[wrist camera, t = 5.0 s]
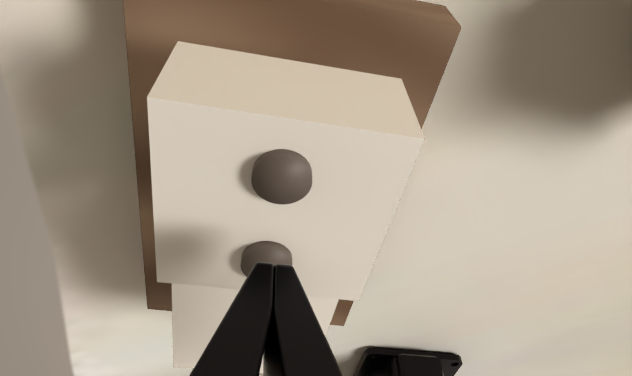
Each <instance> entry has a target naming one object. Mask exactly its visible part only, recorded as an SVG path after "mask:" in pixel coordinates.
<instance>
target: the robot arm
mask: <svg viewBox="0 0 632 376" xmlns="http://www.w3.org/2000/svg"><path fill="white" fill-rule="evenodd" d="M262 359H263V376H343V374H342V372H341V370H340V368H339V366H338V363H337V361H336V359H335V357H334V355H333V352H332V350H331V348H330V346H329V344H328V341H327V339H326V337H325V335H324V333H323V330H322V328H321V326H320V324H319V322H318V319H317V317H316V315H315V313H314V311H313V308H312V306H311V304H310V302H309V300H308V297H307V295H306V293H305V291H304V289H303V287H302V284H301V282H300V280H299V278H298V276H297V273H296V271H295V269H294V267H293V266H292V265H287V264H275V266H274V264H273V263H268V262H256V263H255V265H254V266H253V268H252V270H251V271H250V273H249V275H248V277H247V278H246V280H245V282H244V283H243V285H242V287H241V289H240V290H239V292H238V294H237V295H236V297H235V299H234V300H233V302H232V304H231V306H230V307H229V309H228V311H227V312H226V314H225V316H224V318H223V319H222V321H221V323H220V324H219V326H218V328H217V330H216V331H215V333H214V335H213V336H212V338H211V340H210V342H209V343H208V345H207V347H206V348H205V350H204V352H203V354H202V355H201V357H200V359H199V360H198V362H197V364H196V366H195V367H194V369H193V371H192V372H191V374H190V376H259V373H260V368H261V363H262ZM461 365H462V360H461V357H460V356H459V355H455V354H442V353H430V352H417V351H405V350H393V349H380V348H370V349H367V350H366V351H365V353H364V355H363V357H362V359H361V361H360V363H359V365H358V367H357V369H356V371H355V374H354V376H454V375H455V373H456V372H457V371H458V369H459V368H460V367H461Z"/></svg>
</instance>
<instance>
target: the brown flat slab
mask: <svg viewBox="0 0 632 376" xmlns="http://www.w3.org/2000/svg"><path fill="white" fill-rule="evenodd" d="M123 7H124V20H125V32H126V45H127V57H128V70H129V82H130V95H131V107H132V120H133V133H134V145H135V158H136V170H137V183H138V195H139V208H140V220H141V233H142V246H143V258H144V271H145V283H146V296H147V308H148V309H155V310H166V311H172V283H162V282H157V273H156V254H155V236H154V217H153V199H152V180H151V162H150V143H149V125H148V106H147V96H148V94H149V93H150V91H151V89H152V87H153V85H154V84H155V82H156V80H157V78H158V76H159V74H160V73H161V71H162V69H163V67H164V65H165V64H166V62H167V60H168V58H169V56H170V55H171V53H172V51H173V49H174V47H175V45H176V44H177V42H178V41H181V42H187V43H192V44H198V45H204V46H210V47H216V48H222V49H228V50H234V51H240V52H246V53H252V54H258V55H264V56H269V57H275V58H281V59H287V60H293V61H299V62H305V63H311V64H317V65H323V66H329V67H335V68H341V69H347V70H352V71H358V72H364V73H370V74H376V75H382V76H388V77H394V78H400V79H402V81H403V84H404V86H405V89H406V91H407V94H408V97H409V99H410V102H411V104H412V107H413V109H414V112H415V115H416V117H417V120H418V122H419V125H420V127H421V129H422V126H423V124H424V121H425V119H426V116H427V113H428V111H429V108H430V106H431V103H432V101H433V98H434V96H435V93H436V91H437V88H438V86H439V83H440V81H441V78H442V75H443V73H444V70H445V68H446V65H447V63H448V60H449V58H450V55H451V53H452V50H453V48H454V45H455V43H456V40H457V37H458V35H459V32H460V30H461V26H460V25H459V23H458V22H457V21H456V19H455V18H454V17H453V16H452V14H451V13H450V12H449V10H448V9H447V8H446V6H442V5H437V4H432V3H427V2H422V1H417V0H123ZM352 303H353V301H351V300H341V299H339V300H338V303H337V306H336V309H335V311H334V314H333V317H332V320H331V323H330V325H340V326H344V324H345V321H346V319H347V316H348V314H349V311H350V309H351V306H352Z"/></svg>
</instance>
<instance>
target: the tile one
mask: <svg viewBox="0 0 632 376" xmlns="http://www.w3.org/2000/svg"><path fill="white" fill-rule="evenodd" d="M238 292H239V290H236V289H225V288H215V287H204V286H194V285H183V284H172V325H173V367H178V368H192V369H194V367H195V366H196V364H197V362H198V360H199V359H200V357H201V355H202V354H203V352H204V350H205V348H206V347H207V345H208V343H209V342H210V340H211V338H212V336H213V335H214V333H215V331H216V330H217V328H218V326H219V324H220V323H221V321H222V319H223V318H224V316H225V314H226V312H227V311H228V309H229V307H230V306H231V304H232V302H233V300H234V299H235V297H236V295H237V294H238ZM307 297H308V300H309V302H310V304H311V306H312V308H313V311H314V313H315V315H316V317H317V319H318V322H319V324H320V326H321V328H322V330H323V333H324V335H325V336H326V334H327V331H328V328H329V325H330V323H331V320H332V317H333V314H334V311H335V309H336V306H337V303H338V300H339V299H330V298H320V297H309V296H307ZM260 373H263V359H262V363H261V368H260Z"/></svg>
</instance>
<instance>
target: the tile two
mask: <svg viewBox="0 0 632 376" xmlns="http://www.w3.org/2000/svg"><path fill="white" fill-rule="evenodd" d="M147 106H148V125H149V143H150V162H151V180H152V199H153V217H154V236H155V254H156V273H157V282H162V283H172V284H183V285H194V286H204V287H215V288H225V289H236V290H240V289H241V287H242V285H243V283H244V282H245V280H246V278H247V277H248V275H249V273H250V271H251V270H252V268H253V266H254V265H255V263H256V262H268V263H273V264H274V266H275V264H287V265H292V266H293V267H294V269H295V271H296V273H297V276H298V278H299V280H300V282H301V284H302V287H303V289H304V291H305V293H306V295H307V296H309V297H320V298H330V299H341V300H351V301H359V300H360V297H361V295H362V292H363V290H364V287H365V285H366V282H367V280H368V278H369V275H370V273H371V270H372V268H373V265H374V263H375V260H376V258H377V255H378V253H379V251H380V248H381V246H382V243H383V241H384V238H385V236H386V233H387V231H388V228H389V226H390V224H391V221H392V219H393V216H394V214H395V211H396V209H397V206H398V204H399V201H400V199H401V197H402V194H403V192H404V189H405V187H406V184H407V182H408V179H409V177H410V174H411V172H412V170H413V167H414V165H415V162H416V160H417V157H418V155H419V152H420V150H421V147H422V145H423V143H424V140H425V138H424V135H423V133H422V130H421V127H420V125H419V122H418V120H417V117H416V115H415V112H414V109H413V107H412V104H411V102H410V99H409V97H408V94H407V91H406V89H405V86H404V84H403V81H402V79H400V78H394V77H388V76H382V75H376V74H370V73H364V72H358V71H352V70H347V69H341V68H335V67H329V66H323V65H317V64H311V63H305V62H299V61H293V60H287V59H281V58H275V57H269V56H264V55H258V54H252V53H246V52H240V51H234V50H228V49H222V48H216V47H210V46H204V45H198V44H192V43H187V42H181V41H178V42H177V44H176V45H175V47H174V49H173V51H172V53H171V55H170V56H169V58H168V60H167V62H166V64H165V65H164V67H163V69H162V71H161V73H160V74H159V76H158V78H157V80H156V82H155V84H154V85H153V87H152V89H151V91H150V93H149V94H148V96H147Z"/></svg>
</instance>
